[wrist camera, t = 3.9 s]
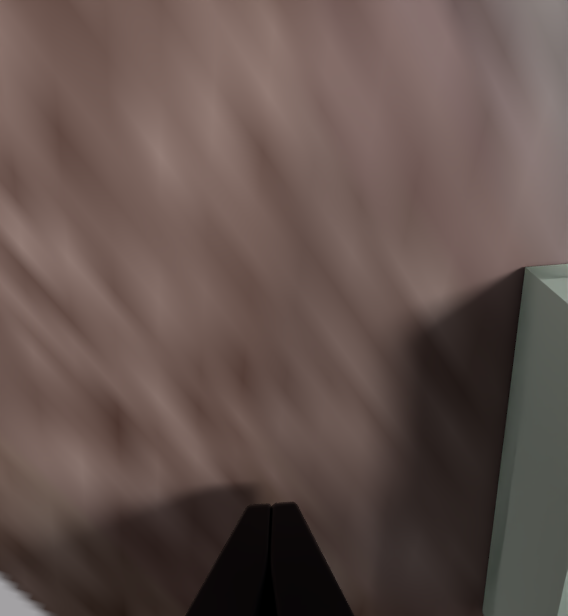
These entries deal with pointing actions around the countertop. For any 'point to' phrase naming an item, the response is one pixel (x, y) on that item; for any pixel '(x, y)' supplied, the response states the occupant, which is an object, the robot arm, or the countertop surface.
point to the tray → (534, 460)
